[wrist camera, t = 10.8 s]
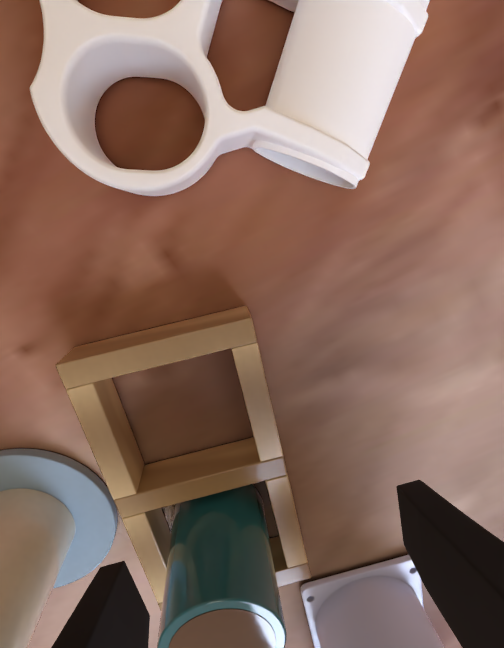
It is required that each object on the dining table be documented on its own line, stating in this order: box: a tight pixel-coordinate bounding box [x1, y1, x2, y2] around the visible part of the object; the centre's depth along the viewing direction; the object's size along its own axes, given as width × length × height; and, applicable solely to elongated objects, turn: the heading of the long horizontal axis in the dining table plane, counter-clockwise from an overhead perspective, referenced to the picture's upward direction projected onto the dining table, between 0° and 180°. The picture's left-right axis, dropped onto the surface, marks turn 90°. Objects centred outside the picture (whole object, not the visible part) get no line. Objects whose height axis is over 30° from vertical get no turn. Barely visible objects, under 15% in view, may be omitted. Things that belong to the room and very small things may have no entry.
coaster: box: [0, 448, 117, 588], centre depth 19 cm, size 9×9×1 cm
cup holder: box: [56, 306, 311, 611], centre depth 19 cm, size 16×9×2 cm, turn 12°
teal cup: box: [157, 484, 286, 648], centre depth 17 cm, size 5×5×7 cm
